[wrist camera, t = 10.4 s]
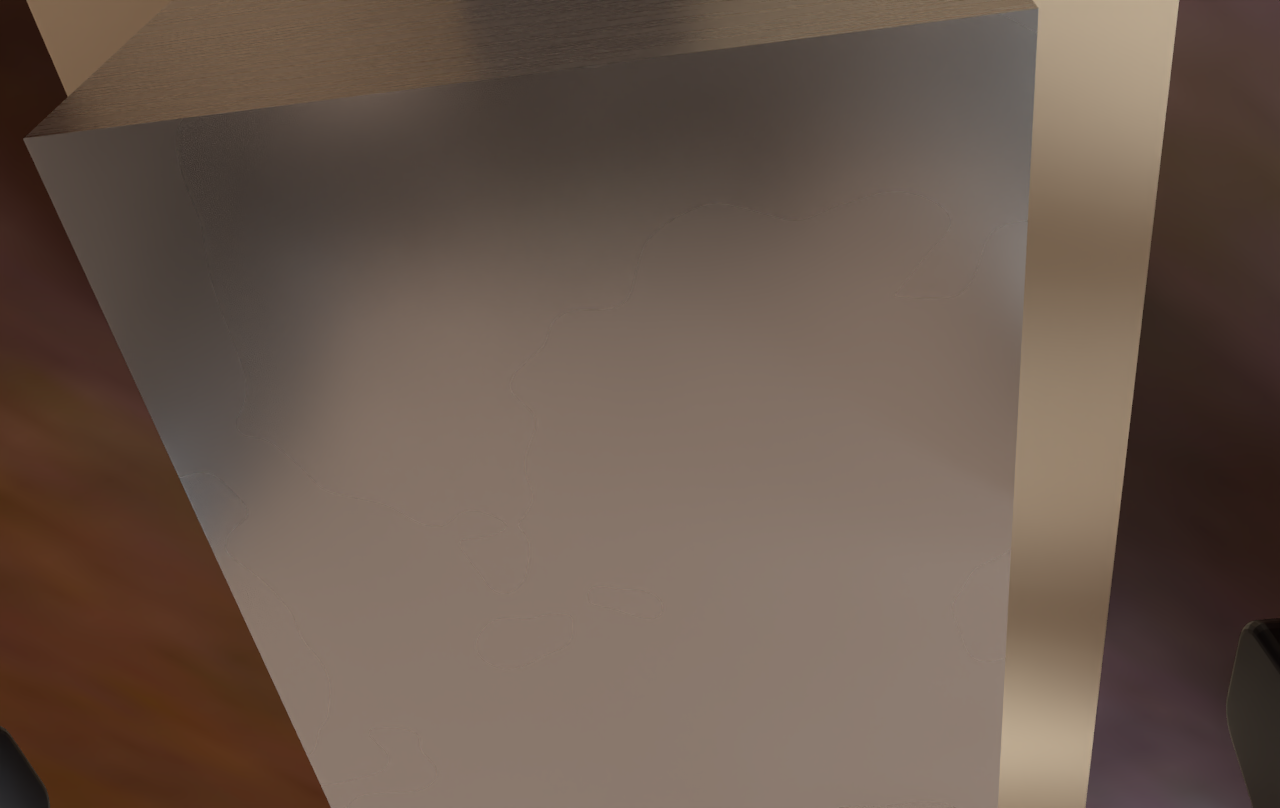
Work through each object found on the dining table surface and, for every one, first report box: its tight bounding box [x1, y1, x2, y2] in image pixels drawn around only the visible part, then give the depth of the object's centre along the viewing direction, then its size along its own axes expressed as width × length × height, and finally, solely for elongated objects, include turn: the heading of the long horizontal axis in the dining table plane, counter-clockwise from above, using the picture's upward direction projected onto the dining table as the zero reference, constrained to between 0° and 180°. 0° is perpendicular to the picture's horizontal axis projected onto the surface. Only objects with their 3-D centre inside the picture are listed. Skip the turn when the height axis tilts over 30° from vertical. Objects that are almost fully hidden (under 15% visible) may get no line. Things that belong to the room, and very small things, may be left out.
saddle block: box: [23, 0, 1039, 808], centre depth 12 cm, size 9×6×6 cm, turn 8°
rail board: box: [26, 0, 1179, 808], centre depth 14 cm, size 24×12×4 cm, turn 8°
